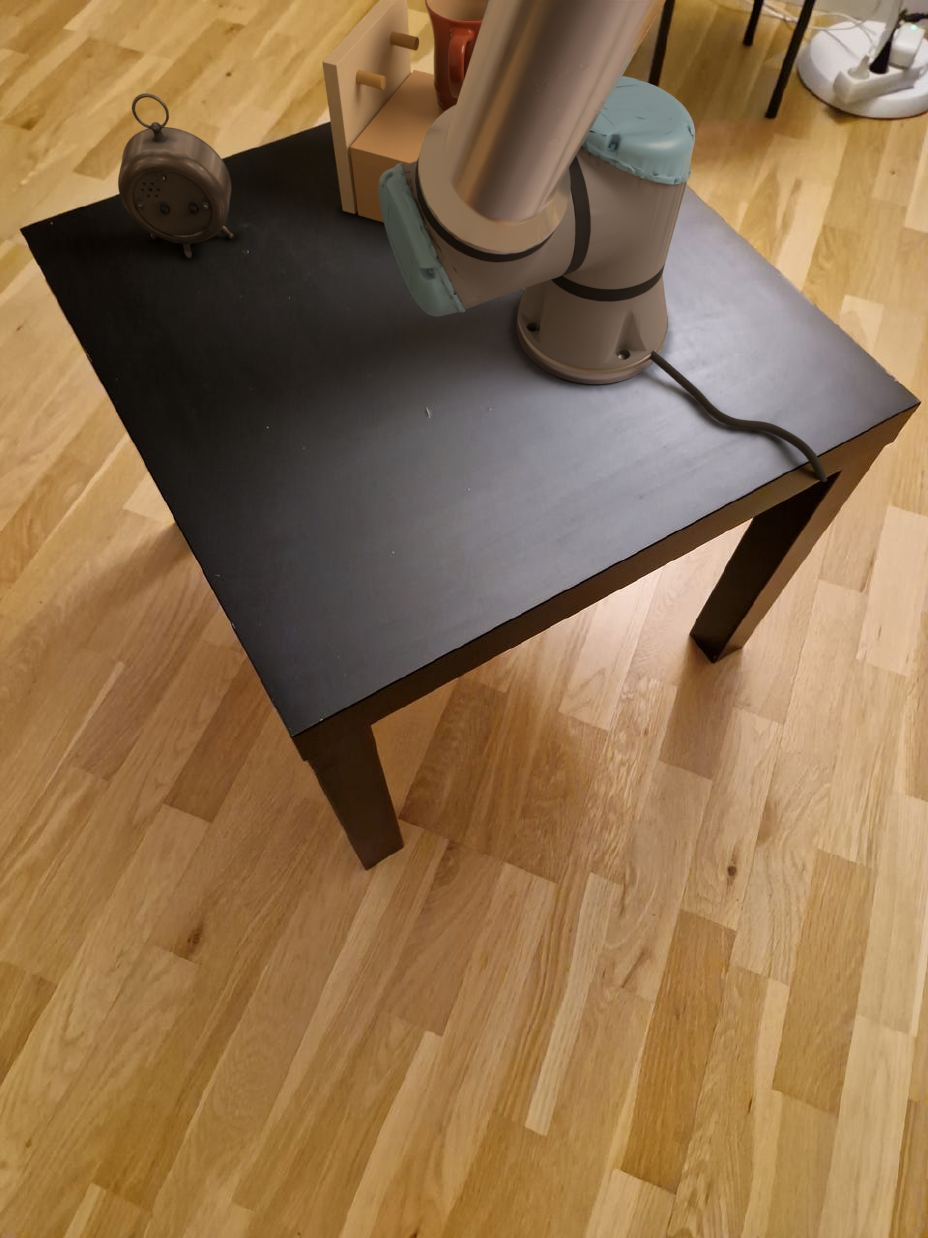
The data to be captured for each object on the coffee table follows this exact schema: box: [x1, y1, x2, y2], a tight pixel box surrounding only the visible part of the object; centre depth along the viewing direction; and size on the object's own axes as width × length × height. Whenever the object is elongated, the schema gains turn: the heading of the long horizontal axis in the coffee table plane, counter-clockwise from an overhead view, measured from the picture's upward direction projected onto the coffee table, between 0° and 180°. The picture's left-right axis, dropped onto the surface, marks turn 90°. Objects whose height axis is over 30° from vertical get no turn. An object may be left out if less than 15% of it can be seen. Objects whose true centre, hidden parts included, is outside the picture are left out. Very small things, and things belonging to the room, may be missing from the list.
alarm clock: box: [117, 93, 234, 258], centre depth 85 cm, size 11×5×16 cm, turn 92°
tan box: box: [321, 0, 445, 223], centre depth 90 cm, size 16×16×16 cm
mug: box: [424, 0, 489, 111], centre depth 86 cm, size 12×9×10 cm
